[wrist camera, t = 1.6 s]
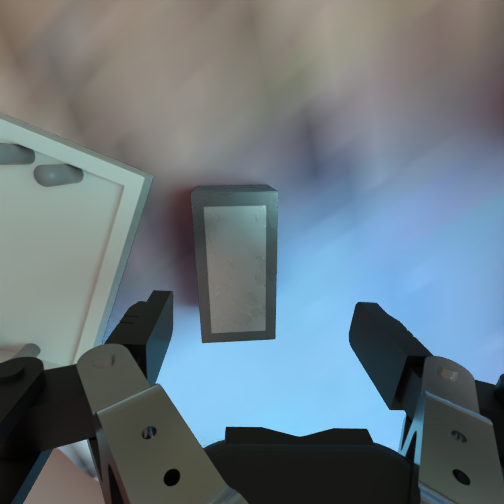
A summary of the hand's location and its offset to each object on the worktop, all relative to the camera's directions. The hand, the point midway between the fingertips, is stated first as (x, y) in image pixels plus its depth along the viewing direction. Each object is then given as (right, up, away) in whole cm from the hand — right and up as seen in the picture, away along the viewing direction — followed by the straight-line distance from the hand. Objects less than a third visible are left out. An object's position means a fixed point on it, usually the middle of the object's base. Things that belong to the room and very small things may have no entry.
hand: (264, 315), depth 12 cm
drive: (-2, +3, +10) cm, 11 cm away
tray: (-17, +2, +9) cm, 19 cm away
